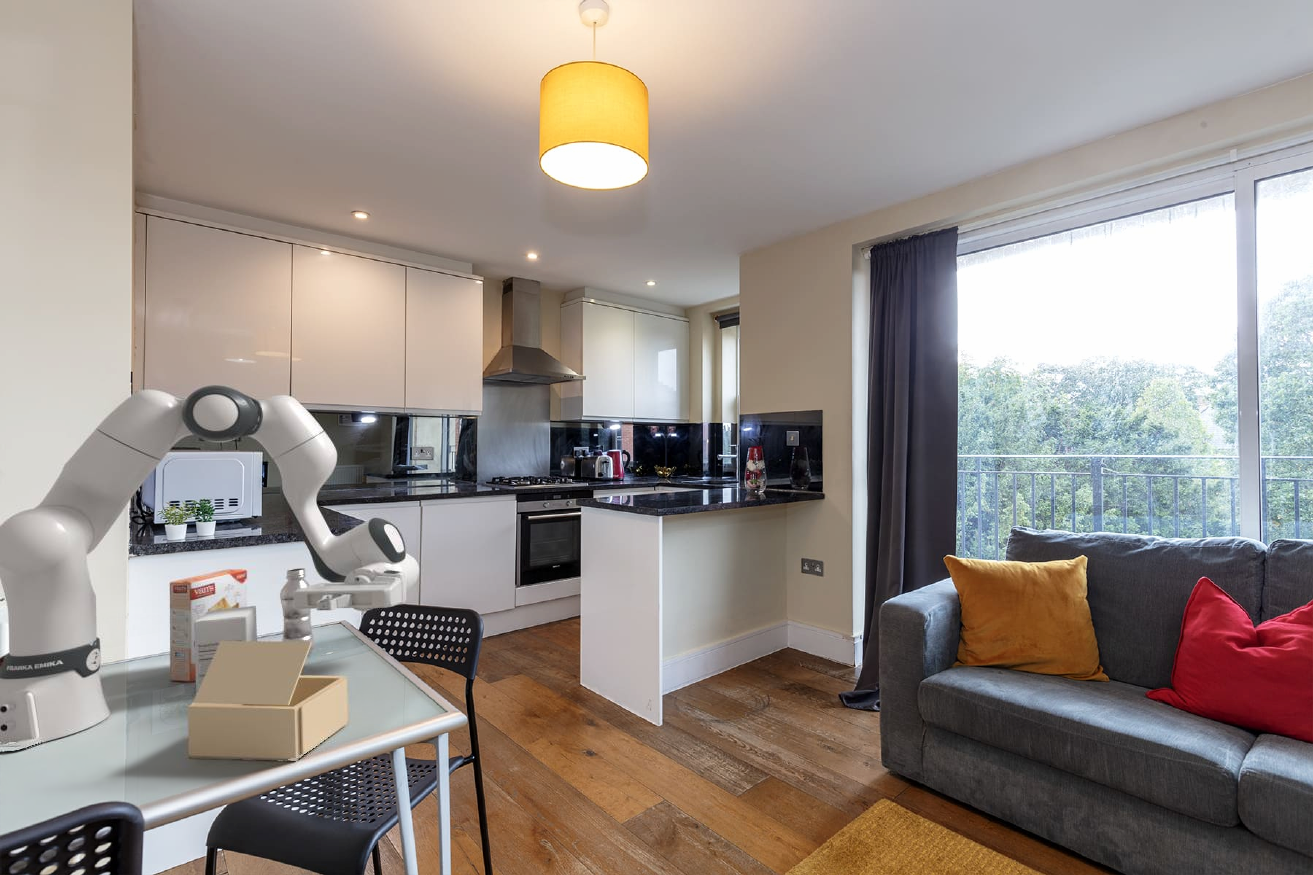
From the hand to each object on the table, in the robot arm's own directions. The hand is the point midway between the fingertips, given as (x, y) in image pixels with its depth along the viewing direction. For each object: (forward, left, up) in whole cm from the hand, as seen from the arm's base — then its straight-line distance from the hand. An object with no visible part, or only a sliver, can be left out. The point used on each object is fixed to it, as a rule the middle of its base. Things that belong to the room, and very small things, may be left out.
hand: (323, 606), depth 114 cm
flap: (-7, -19, -10) cm, 22 cm away
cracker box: (-31, +29, -19) cm, 46 cm away
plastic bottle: (-15, +33, -19) cm, 40 cm away
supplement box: (-23, +17, -19) cm, 34 cm away
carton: (-5, -12, -18) cm, 23 cm away
